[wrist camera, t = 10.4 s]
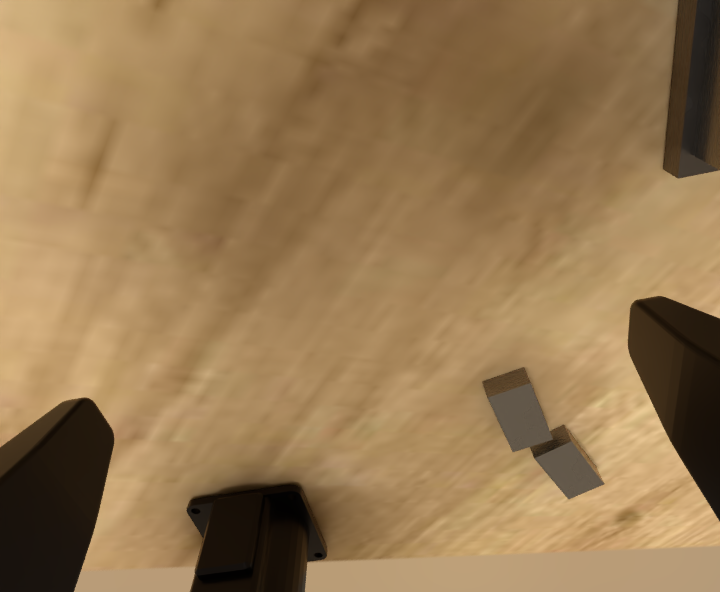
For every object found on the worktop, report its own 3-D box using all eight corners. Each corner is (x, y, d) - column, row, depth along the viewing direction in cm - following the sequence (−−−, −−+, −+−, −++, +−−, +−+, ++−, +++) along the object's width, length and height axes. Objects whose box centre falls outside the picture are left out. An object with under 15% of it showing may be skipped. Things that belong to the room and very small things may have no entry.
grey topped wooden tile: (543, 418, 26) (552, 439, 25) (505, 430, 27) (512, 452, 26) (521, 362, 24) (530, 383, 23) (481, 377, 25) (487, 397, 24)
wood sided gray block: (593, 462, 28) (604, 484, 27) (559, 477, 29) (568, 499, 28) (561, 419, 26) (571, 441, 25) (526, 436, 27) (534, 458, 26)
